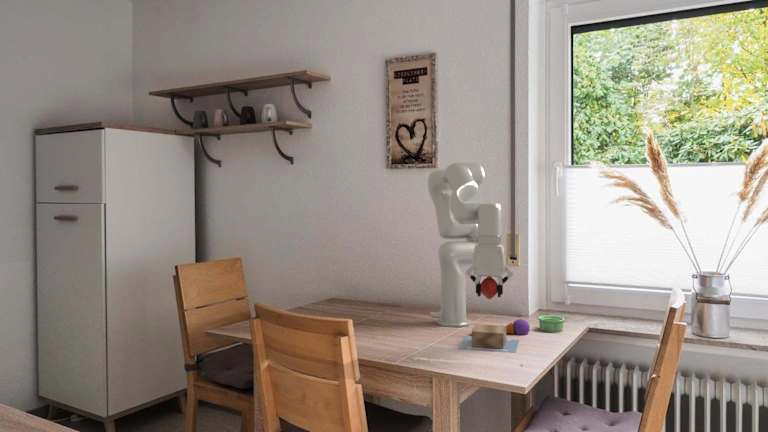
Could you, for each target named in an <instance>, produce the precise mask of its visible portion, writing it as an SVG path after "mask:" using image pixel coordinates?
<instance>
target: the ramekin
mask: <svg viewBox="0 0 768 432" xmlns="http://www.w3.org/2000/svg"><path fill="white" fill-rule="evenodd" d="M564 321H565V318H564V317H562V316H557V315H541V316H539V317H538V323H539V329H540V331H542V332H547V333H561V332H562V331H563V329H564V323H565V322H564Z"/></svg>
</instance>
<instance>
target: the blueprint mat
mask: <svg viewBox="0 0 768 432" xmlns="http://www.w3.org/2000/svg"><path fill="white" fill-rule="evenodd" d="M519 341H520V339H514V338H512V339H509V338H506V343H505V346H504V349H494V348H480V347H472V336H465V337H464V338H463V339H462V341H461V343H460V344H459V346H458V347H457V349H458V350H471V351H472V350H473V351H485V352H486V351H487V352H499V353H500V352H501V353H510V354H511V353H513V354H514V353H515V354H516V352H517V350H518V345H519Z"/></svg>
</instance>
